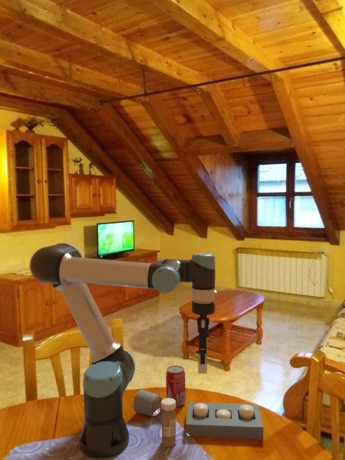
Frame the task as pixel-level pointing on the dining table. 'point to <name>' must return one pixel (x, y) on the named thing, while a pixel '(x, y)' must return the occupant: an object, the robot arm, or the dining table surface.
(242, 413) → the right button
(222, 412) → the middle button
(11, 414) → the dining table surface
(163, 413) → the sprinkles bottle
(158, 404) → the ceramic mug
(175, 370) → the soda can
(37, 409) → the dining table surface
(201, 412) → the left button
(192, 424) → the button board
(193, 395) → the dining table surface
